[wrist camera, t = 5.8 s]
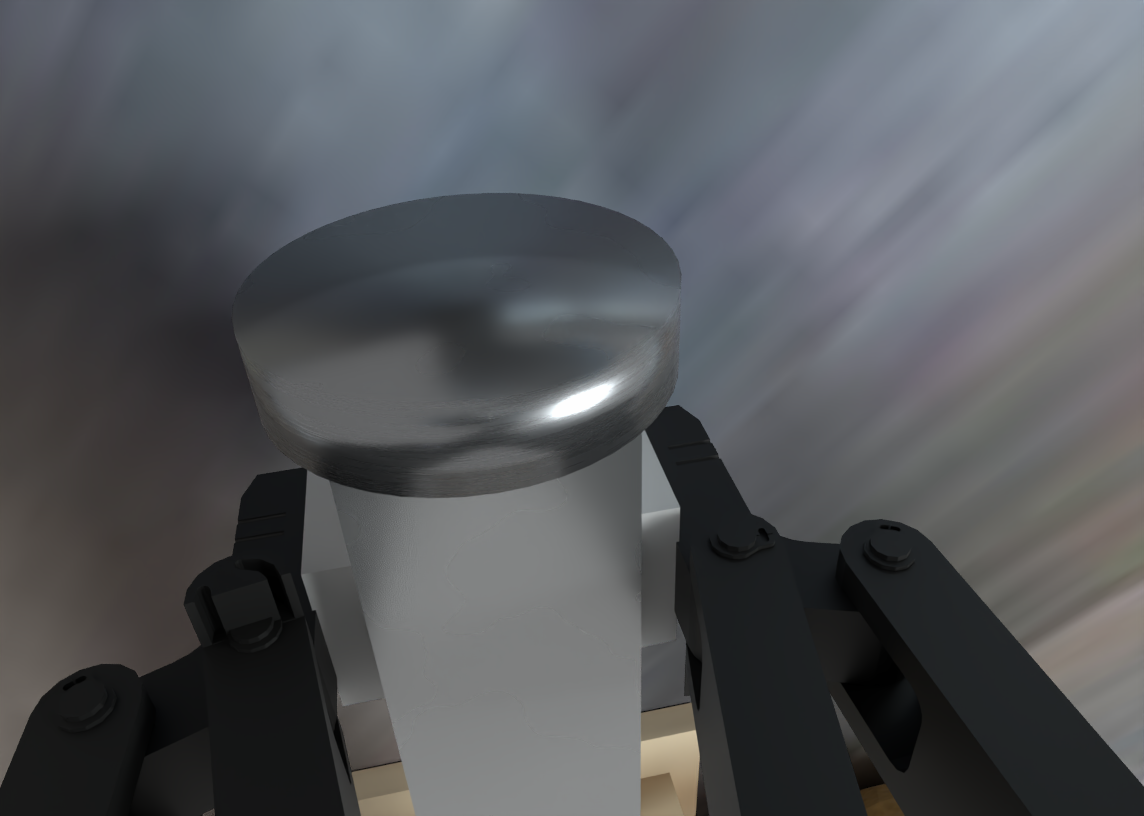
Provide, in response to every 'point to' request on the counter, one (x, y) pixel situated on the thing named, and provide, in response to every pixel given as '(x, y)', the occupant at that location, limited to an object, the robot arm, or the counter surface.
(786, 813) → the robot arm
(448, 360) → the shaft
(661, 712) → the bearing stand
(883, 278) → the counter surface
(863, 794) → the potato
